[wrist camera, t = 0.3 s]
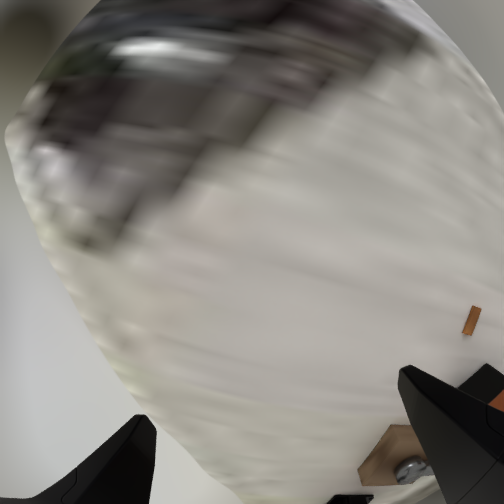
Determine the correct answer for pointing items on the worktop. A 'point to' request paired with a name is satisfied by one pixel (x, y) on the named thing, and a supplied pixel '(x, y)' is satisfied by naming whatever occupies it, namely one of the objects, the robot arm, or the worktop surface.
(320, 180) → the worktop surface
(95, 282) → the worktop surface
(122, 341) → the worktop surface
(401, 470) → the crank
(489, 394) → the battery
